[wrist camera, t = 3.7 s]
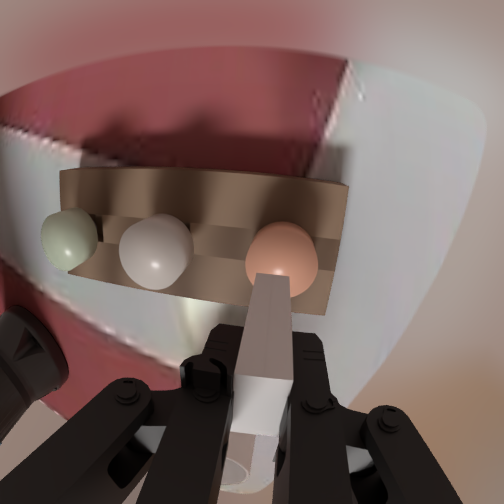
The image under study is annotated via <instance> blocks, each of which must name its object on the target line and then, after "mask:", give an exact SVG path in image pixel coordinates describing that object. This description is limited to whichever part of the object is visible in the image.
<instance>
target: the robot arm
mask: <svg viewBox="0 0 504 504" xmlns="http://www.w3.org/2000/svg"><path fill="white" fill-rule="evenodd" d="M180 376H181V386H182V387H181V388H178V389H175V390H167V391H151V390H150V389H149V387H148V385H147V384H145V383H144V382H143V381H141V380H138V379H135V378H121V379H117V380H115V381H113V382H112V383H110V384H109V385H108V386H106V387H105V388H104V389H103V390H102V391H101V392H100V393H99V394H97V395H96V396H95V397H94V398H93V399H92V400H91V401H90V402H88V403H87V404H86V405H85V406H84V407H83V408H82V409H81V410H80V411H78V412H77V413H76V414H75V415H74V416H73V417H72V418H71V419H69V420H68V421H67V422H66V423H65V424H64V425H63V426H62V427H60V428H59V429H58V430H57V431H56V432H55V433H54V434H53V435H51V436H50V437H49V438H48V439H47V440H46V441H45V442H44V443H42V444H41V445H40V446H39V447H38V448H37V449H36V450H35V451H33V452H32V453H31V454H30V455H29V456H28V457H27V458H26V459H24V460H23V461H22V462H21V463H20V464H19V465H18V466H17V467H15V468H14V469H13V470H12V471H11V472H10V473H9V474H8V475H6V476H5V477H4V478H3V479H2V480H1V481H0V504H122V503H123V501H124V500H125V499H126V498H127V496H128V495H129V494H130V493H131V492H132V490H133V489H134V488H135V487H136V485H137V484H138V483H139V482H140V480H141V479H142V478H143V477H144V475H145V474H146V473H147V472H148V473H147V476H146V478H145V481H144V483H143V486H142V489H141V491H140V494H139V496H138V499H137V502H136V504H217V500H218V495H219V490H220V485H221V480H222V475H223V470H224V465H225V460H226V455H227V450H228V444H229V435H230V431H232V432H239V433H247V434H255V435H265V436H276V437H278V434H279V444H278V447H277V450H276V453H275V456H274V459H273V462H275V474H274V488H273V499H272V500H273V501H272V504H463V503H462V501H461V500H460V498H459V496H458V495H457V493H456V491H455V490H454V488H453V487H452V485H451V483H450V481H449V480H448V478H447V476H446V475H445V473H444V472H443V470H442V468H441V467H440V465H439V464H438V462H437V460H436V459H435V457H434V456H433V454H432V452H431V451H430V449H429V448H428V446H427V445H426V443H425V442H424V440H423V439H422V437H421V435H420V434H419V433H418V431H417V429H416V428H415V426H414V425H413V423H412V422H411V420H410V419H409V417H408V416H407V415H406V414H405V413H404V412H403V411H402V410H400V409H399V408H397V407H394V406H389V405H383V406H378V407H376V408H374V409H372V410H371V411H370V413H369V414H366V413H361V412H357V411H353V410H350V409H347V408H345V407H343V406H341V405H340V404H339V403H338V400H337V398H336V397H335V396H334V395H333V394H331V391H330V385H329V379H328V373H327V367H326V362H325V355H324V349H323V344H322V341H321V340H320V339H319V338H318V336H317V335H316V334H315V333H304V332H293V331H292V320H291V298H290V279H289V276H282V275H273V274H264V273H256V276H255V281H254V286H253V290H252V295H251V299H250V304H249V308H248V313H247V317H246V322H245V327H241V326H233V325H226V324H218V325H217V326H216V327H215V328H213V329H212V330H211V332H210V334H209V337H208V339H207V342H206V344H205V347H204V349H203V352H202V354H200V355H195V356H191V357H189V358H187V359H186V360H184V361H183V362H182V364H181V365H180ZM67 379H68V367H67V364H66V361H65V359H64V356H63V354H62V352H61V350H60V349H59V347H58V345H57V344H56V342H55V340H54V339H53V337H52V336H51V335H50V333H49V332H48V331H47V329H46V328H45V327H44V326H43V325H42V324H41V322H40V321H39V320H38V319H37V318H36V317H35V316H34V315H32V314H31V313H30V312H29V311H27V310H26V309H24V308H22V307H20V306H11V307H10V308H9V309H7V310H6V311H5V312H3V313H2V315H1V316H0V445H1V444H2V441H3V440H4V438H5V437H6V435H7V434H8V433H9V432H10V430H11V429H12V428H13V427H14V425H15V424H16V423H17V421H18V420H19V419H20V418H21V416H22V415H23V414H24V412H25V411H26V410H27V409H28V408H29V407H30V405H31V404H32V403H33V402H34V401H36V400H38V399H40V398H42V397H44V396H46V395H47V394H49V393H50V392H52V391H56V390H58V389H59V388H61V386H62V385H63V384H64V383H65V382H66V381H67ZM148 470H149V471H148Z"/></svg>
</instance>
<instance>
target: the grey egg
mask: <svg viewBox="0 0 504 504" xmlns="http://www.w3.org/2000/svg"><path fill="white" fill-rule="evenodd" d="M193 254H194V243H193V239H192V236H191V233H190V231H189V230H188V228H187V227H186V226H185V224H184V223H183V222H181V221H180V220H179V219H177V218H176V217H174V216H172V215H168V214H155V215H152V216H150V217H148V218H146V219H144V220H142V221H140V222H138V223H136V224H134V225H132V226H130V227H129V228H128V229H127V230H126V231H125V232H124V234H123V235H122V237H121V240H120V244H119V256H120V260H121V263H122V266H123V268H124V270H125V271H126V273H127V274H128V276H129V277H130V278H131V279H132V280H133V281H134V282H136V283H137V284H139V285H140V286H142V287H145V288H147V289H152V290H160V289H164V288H167V287H169V286H170V285H172V284H173V283H174V282H175V281H176V280H177V278H178V277H179V276H180V275H181V274H182V273H183V271H184V270H185V269H186V268H187V267H188V265H189V264H190V262H191V261H192V258H193Z"/></svg>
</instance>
